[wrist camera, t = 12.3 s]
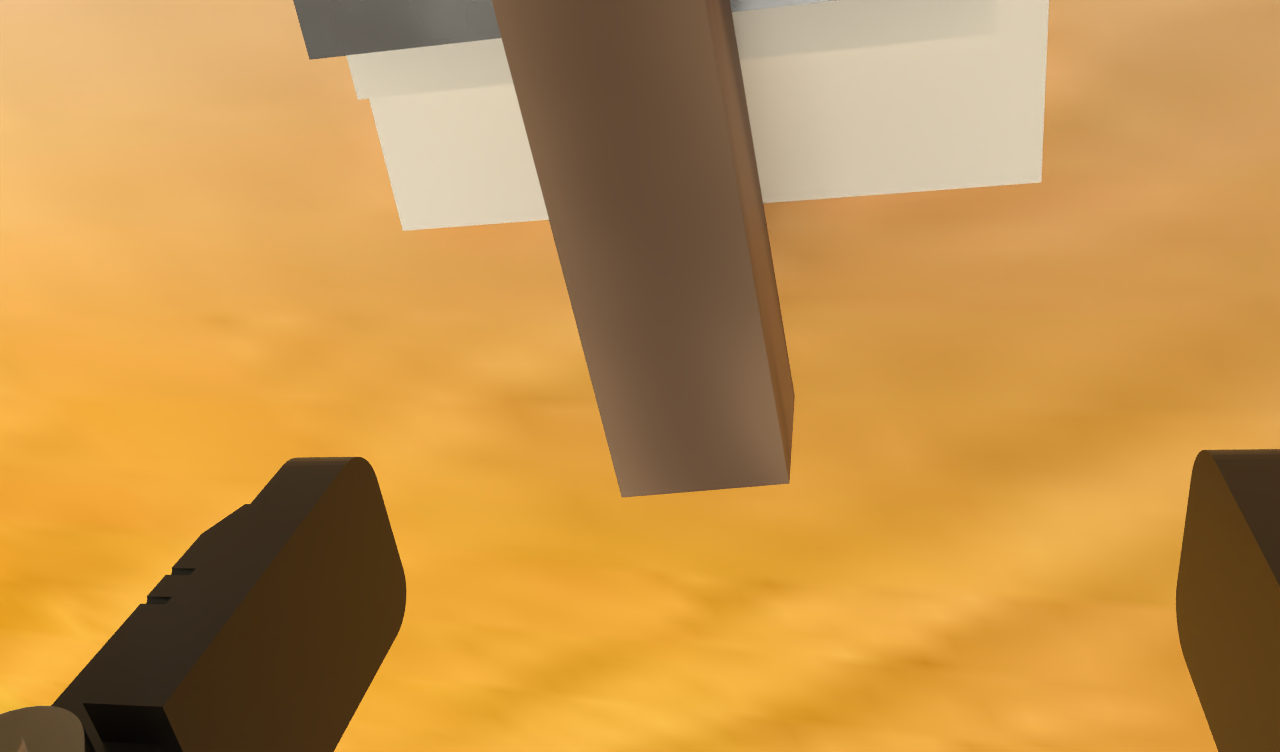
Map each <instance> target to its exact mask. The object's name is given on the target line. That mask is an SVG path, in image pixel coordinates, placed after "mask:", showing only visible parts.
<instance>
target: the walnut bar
mask: <svg viewBox="0 0 1280 752" xmlns="http://www.w3.org/2000/svg"><path fill="white" fill-rule="evenodd" d="M492 4H493V8H494V12H495V15H496V19H497V23H498V27H499V31H500V34H501V38H502V42H503V46H504V50H505V53H506V57H507V61H508V65H509V69H510V72H511V76H512V80H513V84H514V88H515V92H516V95H517V99H518V103H519V107H520V111H521V114H522V118H523V122H524V126H525V130H526V133H527V137H528V141H529V145H530V149H531V153H532V156H533V160H534V164H535V168H536V172H537V175H538V179H539V183H540V187H541V191H542V194H543V198H544V202H545V206H546V210H547V214H548V217H549V221H550V225H551V229H552V233H553V236H554V240H555V244H556V248H557V252H558V255H559V259H560V263H561V267H562V271H563V275H564V278H565V282H566V286H567V290H568V294H569V297H570V301H571V305H572V309H573V313H574V316H575V320H576V324H577V328H578V332H579V336H580V339H581V343H582V347H583V351H584V355H585V358H586V362H587V366H588V370H589V374H590V377H591V381H592V385H593V389H594V393H595V397H596V400H597V404H598V408H599V412H600V416H601V419H602V423H603V427H604V431H605V435H606V438H607V442H608V446H609V450H610V454H611V458H612V461H613V465H614V469H615V473H616V477H617V480H618V484H619V488H620V492H621V496H622V497H633V496H645V495H657V494H669V493H681V492H693V491H705V490H717V489H729V488H741V487H753V486H765V485H777V484H789V480H790V463H791V447H792V430H793V414H794V397H795V396H794V389H793V383H792V377H791V371H790V365H789V359H788V353H787V347H786V340H785V334H784V328H783V322H782V316H781V310H780V304H779V298H778V292H777V285H776V279H775V273H774V267H773V261H772V255H771V249H770V243H769V237H768V230H767V224H766V218H765V212H764V206H763V200H762V194H761V188H760V181H759V175H758V169H757V163H756V157H755V151H754V145H753V139H752V133H751V126H750V120H749V114H748V108H747V102H746V96H745V90H744V84H743V77H742V71H741V65H740V59H739V53H738V47H737V41H736V35H735V29H734V22H733V16H732V10H731V4H730V0H492Z"/></svg>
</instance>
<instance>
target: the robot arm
mask: <svg viewBox="0 0 1280 752" xmlns="http://www.w3.org/2000/svg"><path fill="white" fill-rule="evenodd" d="M405 605H406V581H405V575H404V570H403V567H402V563H401V560H400V556H399V553H398V549H397V546H396V543H395V539H394V536H393V532H392V529H391V525H390V522H389V519H388V515H387V512H386V508H385V505H384V501H383V498H382V494H381V491H380V488H379V484H378V481H377V477H376V475H375V472H374V470H373V468H372V466H371V465H370V464H369V462H368V461H367V460H365V459H364V458H361V457H311V458H293V459H290V460H289V461H287V462H286V463H285V464H284V465H283V466H282V467H281V468H280V470H279V471H278V472H277V473H276V474H275V475H274V477H273V478H272V479H271V480H270V481H269V483H268V484H267V485H266V486H265V487H264V489H263V490H262V491H261V492H260V493H259V494H258V496H257V497H256V498H255V499H254V500H253V502H252V503H251V504H245V505H243V506H242V507H240V508H239V509H237V510H236V511H235V512H233V513H232V514H230V515H229V516H227V517H226V518H224V519H223V520H221V521H220V522H218V523H217V524H216V525H214V526H213V527H211V528H210V529H208V530H207V531H205V532H204V533H202V534H201V535H200V536H199V538H198V539H197V540H196V541H195V542H194V543H193V544H192V546H191V547H190V548H189V549H188V550H187V551H186V552H185V554H184V555H183V556H182V557H181V558H180V559H179V560H178V562H177V563H176V564H175V565H174V566H173V567H172V574H171V575H165V576H164V578H163V579H162V580H161V581H160V582H159V583H158V584H157V586H156V587H155V588H154V589H153V590H152V591H151V592H150V594H149V595H148V596H147V603H146V604H140V605H139V606H138V607H137V608H136V610H135V611H134V612H133V613H132V614H131V615H130V616H129V618H128V619H127V620H126V621H125V622H124V623H123V624H122V626H121V627H120V628H119V629H118V630H117V631H116V632H115V634H114V635H113V636H112V637H111V638H110V639H109V640H108V642H107V643H106V644H105V645H104V646H103V647H102V648H101V650H100V651H99V652H98V653H97V654H96V655H95V656H94V658H93V659H92V660H91V661H90V662H89V663H88V664H87V665H86V667H85V668H84V669H83V670H82V671H81V672H80V673H79V675H78V676H77V677H76V678H75V679H74V680H73V681H72V683H71V684H70V685H69V686H68V687H67V688H66V689H65V691H64V692H63V693H62V694H61V695H60V696H59V697H58V699H57V700H56V701H55V702H54V703H53V704H52V705H51V706H35V707H26V708H22V709H17V710H13V711H9V712H6V713H3V714H0V752H334V750H335V748H336V746H337V744H338V743H339V741H340V739H341V737H342V735H343V733H344V732H345V730H346V728H347V726H348V724H349V722H350V720H351V719H352V717H353V715H354V713H355V711H356V709H357V708H358V706H359V704H360V702H361V700H362V698H363V697H364V695H365V693H366V691H367V689H368V687H369V686H370V684H371V682H372V680H373V678H374V676H375V675H376V673H377V671H378V669H379V667H380V665H381V664H382V662H383V660H384V658H385V656H386V654H387V653H388V651H389V649H390V647H391V645H392V643H393V641H394V640H395V638H396V636H397V634H398V632H399V630H400V627H401V624H402V621H403V617H404V612H405ZM1176 613H1177V625H1178V632H1179V638H1180V644H1181V648H1182V652H1183V655H1184V658H1185V661H1186V664H1187V667H1188V670H1189V672H1190V675H1191V678H1192V680H1193V683H1194V686H1195V689H1196V691H1197V694H1198V697H1199V700H1200V702H1201V705H1202V708H1203V711H1204V713H1205V716H1206V719H1207V721H1208V724H1209V727H1210V730H1211V732H1212V735H1213V738H1214V741H1215V743H1216V746H1217V749H1218V752H1280V449H1258V450H1202V451H1201V452H1199V454H1198V455H1197V457H1196V460H1195V462H1194V466H1193V470H1192V476H1191V483H1190V491H1189V498H1188V506H1187V513H1186V521H1185V528H1184V536H1183V543H1182V551H1181V558H1180V566H1179V573H1178V580H1177V590H1176Z"/></svg>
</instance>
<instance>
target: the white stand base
mask: <svg viewBox="0 0 1280 752" xmlns="http://www.w3.org/2000/svg"><path fill="white" fill-rule="evenodd" d="M293 1H294V5H295V8H296V12H297V15H298V19H299V23H300V26H301V30H302V33H303V37H304V41H305V44H306V48H307V51H308V55H309V59H319V58H328V57H337V56H347V60H348V64H349V68H350V71H351V75H352V79H353V83H354V87H355V90H356V94H357V98H358V100H360V99H369V101H370V104H371V108H372V112H373V116H374V120H375V124H376V128H377V132H378V136H379V140H380V143H381V147H382V151H383V155H384V159H385V163H386V167H387V171H388V175H389V179H390V183H391V186H392V190H393V194H394V198H395V202H396V206H397V210H398V214H399V218H400V222H401V225H402V229H403V231H407V230H420V229H433V228H446V227H459V226H472V225H486V224H499V223H512V222H525V221H538V220H549V217H548V214H547V210H546V206H545V202H544V198H543V194H542V191H541V187H540V183H539V179H538V175H537V172H536V168H535V164H534V160H533V156H532V153H531V149H530V145H529V141H528V137H527V133H526V130H525V126H524V122H523V118H522V114H521V111H520V107H519V103H518V99H517V95H516V92H515V88H514V84H513V80H512V76H511V72H510V69H509V65H508V61H507V57H506V53H505V50H504V46H503V42H502V38H501V34H500V31H499V27H498V23H497V19H496V15H495V12H494V8H493V4H492V0H293ZM730 4H731V10H732V16H733V22H734V29H735V35H736V41H737V47H738V53H739V59H740V65H741V71H742V77H743V84H744V90H745V96H746V102H747V108H748V114H749V120H750V126H751V133H752V139H753V145H754V151H755V157H756V163H757V169H758V175H759V181H760V188H761V194H762V200H763V203H776V202H789V201H802V200H815V199H828V198H841V197H855V196H868V195H881V194H894V193H907V192H921V191H934V190H947V189H960V188H973V187H986V186H1000V185H1013V184H1026V183H1039V182H1041V176H1042V152H1043V129H1044V106H1045V83H1046V60H1047V37H1048V13H1049V0H730Z"/></svg>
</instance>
